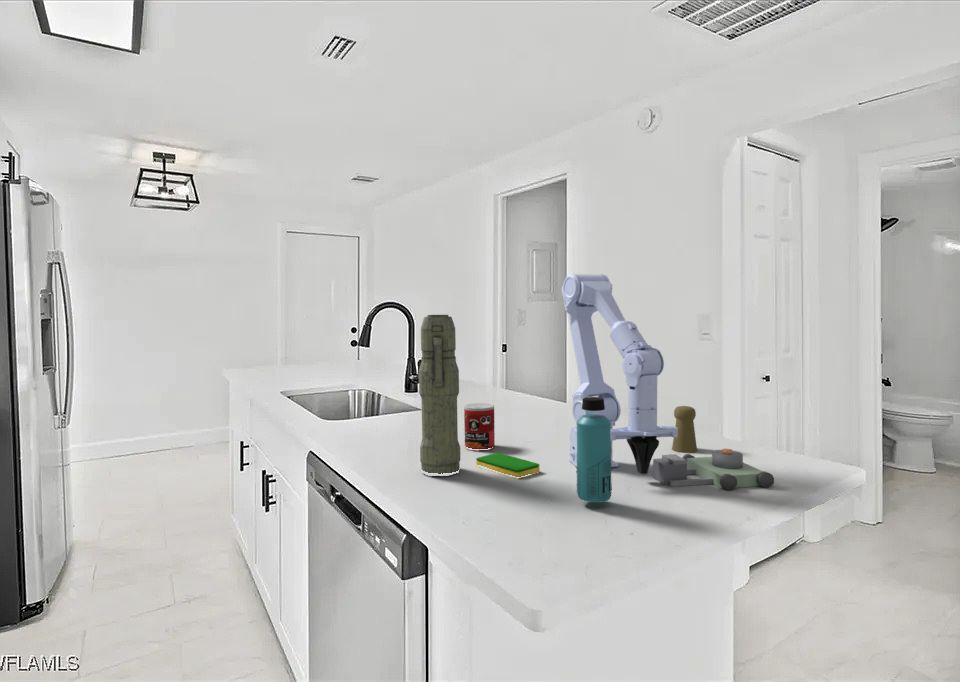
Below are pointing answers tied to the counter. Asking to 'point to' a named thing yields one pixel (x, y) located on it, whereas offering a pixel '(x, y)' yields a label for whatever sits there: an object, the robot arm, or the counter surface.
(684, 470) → the grey block on ledge
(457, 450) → the olive green flashlight
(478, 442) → the canned food
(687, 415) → the olive brown tapered figure
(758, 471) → the mower deck
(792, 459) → the counter surface
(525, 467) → the dish sponge
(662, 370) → the robot arm
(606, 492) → the beverage bottle
